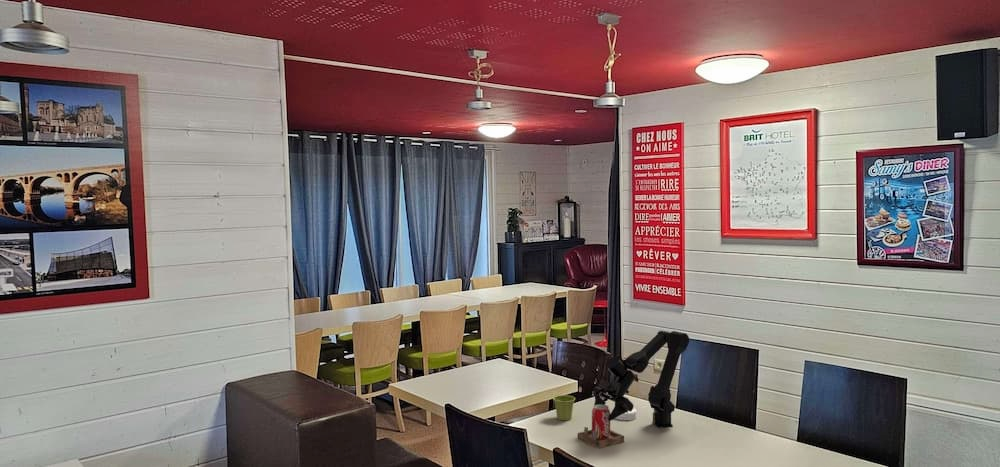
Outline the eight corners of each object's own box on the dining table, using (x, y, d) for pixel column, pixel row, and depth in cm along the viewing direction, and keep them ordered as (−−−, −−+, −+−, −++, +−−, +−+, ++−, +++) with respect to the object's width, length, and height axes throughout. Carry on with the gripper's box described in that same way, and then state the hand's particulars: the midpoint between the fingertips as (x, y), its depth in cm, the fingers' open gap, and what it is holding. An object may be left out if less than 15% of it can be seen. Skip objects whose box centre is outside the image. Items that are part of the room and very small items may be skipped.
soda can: (599, 442, 239) (599, 410, 239) (587, 436, 246) (587, 405, 245) (614, 438, 243) (614, 407, 242) (602, 433, 249) (602, 402, 249)
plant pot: (549, 416, 272) (549, 396, 272) (568, 413, 276) (567, 393, 276) (560, 423, 264) (560, 402, 263) (579, 420, 268) (579, 399, 267)
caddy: (603, 432, 253) (603, 419, 253) (624, 441, 242) (624, 428, 242) (577, 438, 246) (577, 425, 246) (597, 448, 236) (597, 435, 236)
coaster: (636, 421, 265) (636, 413, 265) (612, 420, 267) (612, 412, 267) (636, 414, 275) (636, 406, 275) (613, 412, 277) (613, 404, 277)
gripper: (595, 366, 254) (573, 398, 249) (627, 377, 238) (605, 411, 233) (610, 383, 258) (589, 414, 253) (643, 394, 242) (621, 428, 237)
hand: (600, 416), depth 244 cm, fingers open, 9 cm apart
